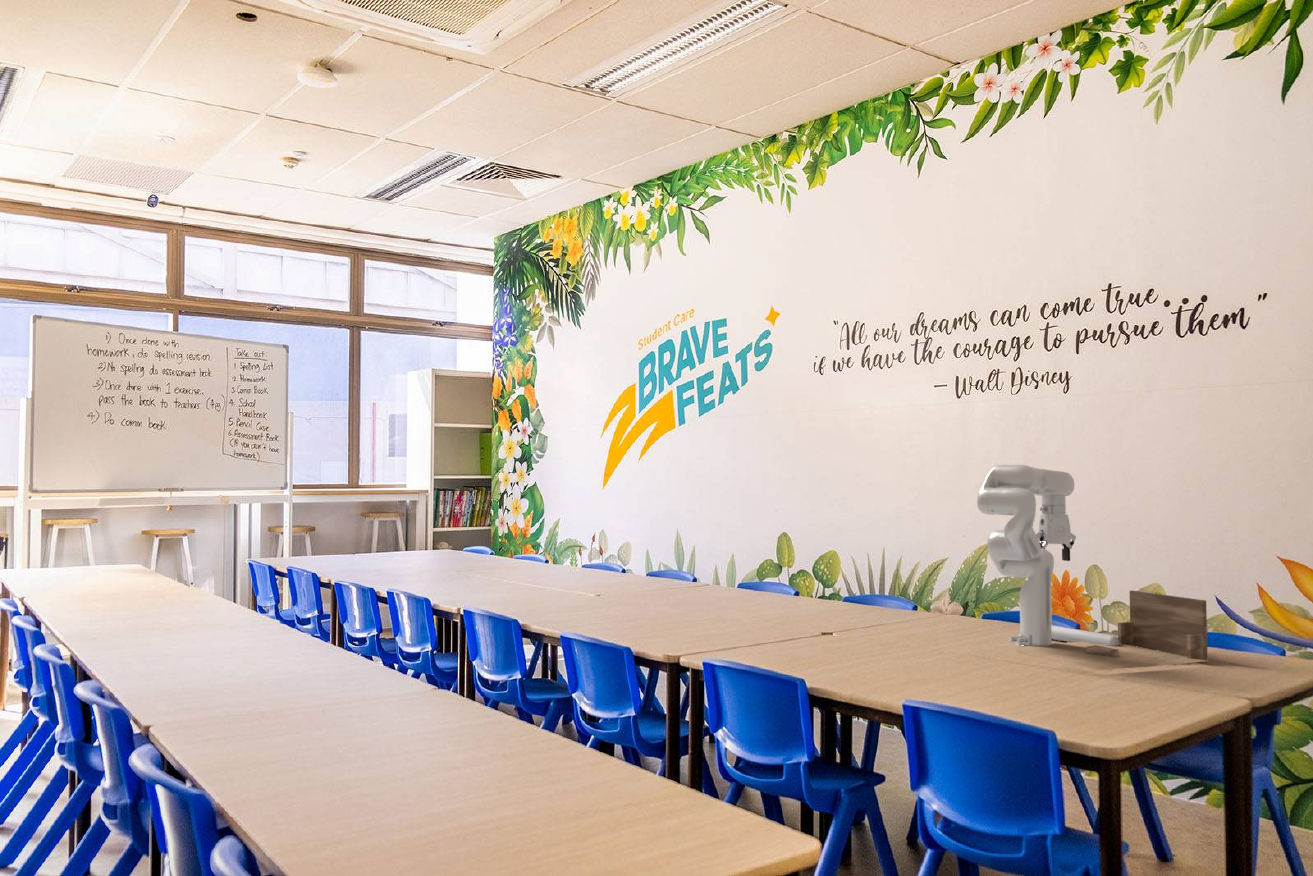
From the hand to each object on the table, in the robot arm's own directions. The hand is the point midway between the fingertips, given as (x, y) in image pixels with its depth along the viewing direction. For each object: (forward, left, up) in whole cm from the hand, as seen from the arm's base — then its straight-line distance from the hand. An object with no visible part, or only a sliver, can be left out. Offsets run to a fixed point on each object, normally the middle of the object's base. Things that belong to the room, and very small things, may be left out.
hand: (1054, 561), depth 341 cm
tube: (+1, -12, -27) cm, 29 cm away
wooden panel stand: (+10, -35, -26) cm, 45 cm away
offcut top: (-13, -35, -25) cm, 45 cm away
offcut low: (-13, -35, -27) cm, 46 cm away
